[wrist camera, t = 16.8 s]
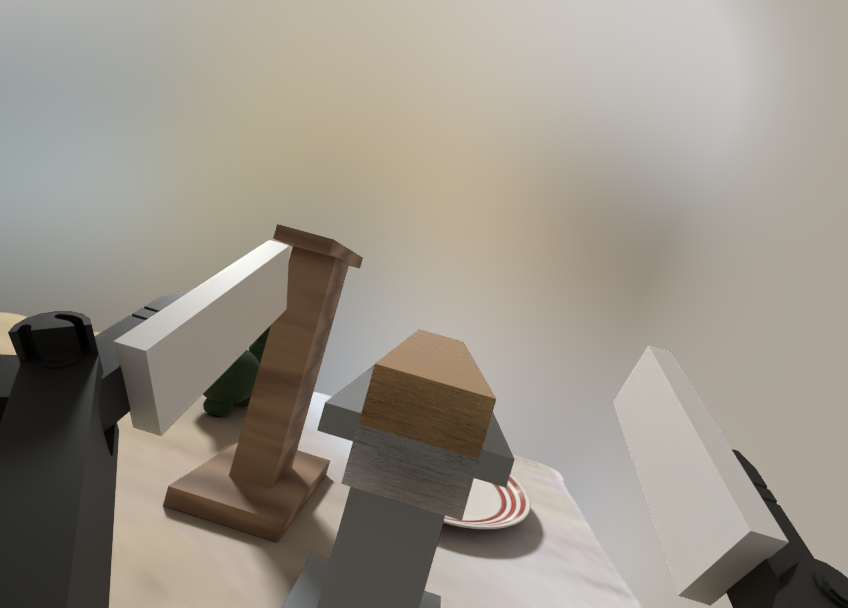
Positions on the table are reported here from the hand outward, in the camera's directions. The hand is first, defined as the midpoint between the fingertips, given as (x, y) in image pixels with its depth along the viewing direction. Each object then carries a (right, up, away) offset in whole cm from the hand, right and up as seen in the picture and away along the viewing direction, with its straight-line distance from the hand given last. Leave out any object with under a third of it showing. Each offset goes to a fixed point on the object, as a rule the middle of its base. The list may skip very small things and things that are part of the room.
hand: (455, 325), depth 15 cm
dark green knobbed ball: (-35, -17, +56) cm, 69 cm away
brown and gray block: (-1, -6, +9) cm, 11 cm away
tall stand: (-21, -21, +33) cm, 44 cm away
